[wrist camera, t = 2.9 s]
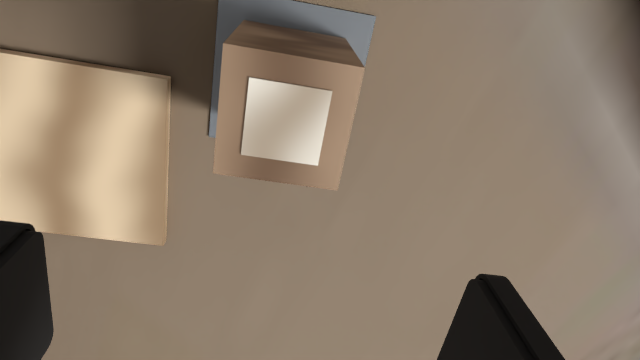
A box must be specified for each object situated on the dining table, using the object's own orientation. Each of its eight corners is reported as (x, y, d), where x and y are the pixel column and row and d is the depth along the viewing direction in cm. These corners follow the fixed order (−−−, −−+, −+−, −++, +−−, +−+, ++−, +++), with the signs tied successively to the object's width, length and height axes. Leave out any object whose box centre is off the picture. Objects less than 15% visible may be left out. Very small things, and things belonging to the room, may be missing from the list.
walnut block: (345, 38, 26) (365, 68, 18) (326, 132, 28) (337, 191, 21) (243, 19, 25) (222, 43, 18) (234, 118, 27) (212, 174, 20)
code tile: (375, 16, 25) (376, 16, 25) (344, 156, 29) (344, 156, 29) (219, -14, 24) (219, -14, 24) (209, 136, 28) (208, 136, 28)
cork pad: (170, 76, 26) (167, 79, 25) (166, 239, 31) (163, 245, 31) (-45, 41, 25) (-55, 43, 24) (-12, 218, 30) (-20, 224, 29)
